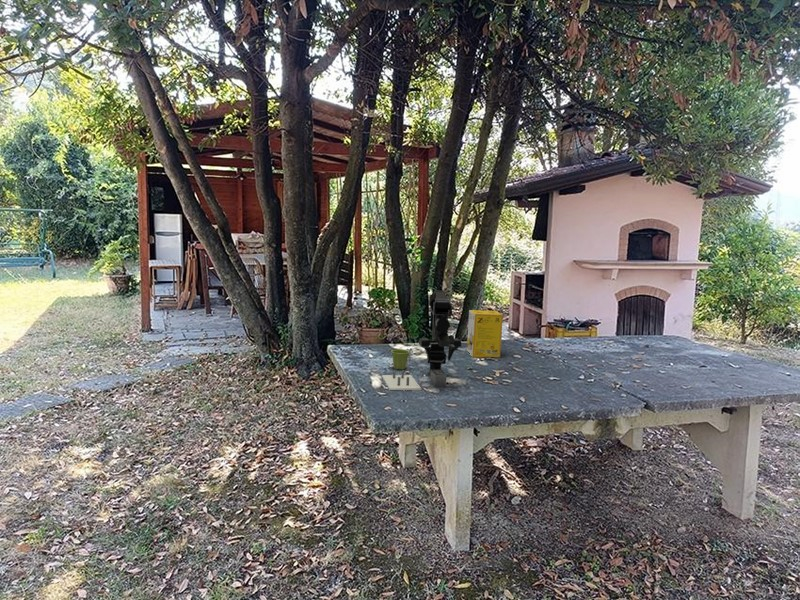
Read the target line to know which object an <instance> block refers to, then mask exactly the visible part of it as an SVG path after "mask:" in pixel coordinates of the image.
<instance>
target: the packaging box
mask: <svg viewBox="0 0 800 600" xmlns="http://www.w3.org/2000/svg"><path fill="white" fill-rule="evenodd" d="M503 318H504V315H503V314H502V313H500V312H499V311H497V310H481V309H480V310H478V309H469V311H468V326H467V338H466V339H467V340H466V341H467V342H466V352H467V351H468V352H469V353H470V354H469V353H468V352H467V353H468V354H469V356H472V357H471V358H483V357H500V358H501V348H502V347H501V346H502V336H503V335H502V332H503V322H504V321H503Z"/></svg>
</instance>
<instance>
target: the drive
mask: <svg viewBox="0 0 800 600" xmlns="http://www.w3.org/2000/svg"><path fill="white" fill-rule="evenodd" d="M429 382H430V383H431V385H432V386H433V387H434V388H447V373H445V372H444V371H443V369H442V368H441V369H431V374H430V376H429Z"/></svg>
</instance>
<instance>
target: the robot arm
mask: <svg viewBox="0 0 800 600" xmlns="http://www.w3.org/2000/svg"><path fill="white" fill-rule="evenodd" d="M445 293H446V292H445V290H439V289H438V290H437V289H435V290H433V293H432V294H430V295H429V296H428V297H429V299H428V306H429V311H430V312H431V314H432V340H431V339H429V338H428V337H427V338H423V337H420V338H419V340H418V345H419V346H420V347H421V348H423V349H424V351H425V353H426V356H427V357H426V362H427V364H429V372H426V373H427V375H428V376H429V377H430V374H431V369H441V370H442V365H445V364H447V361H448V362H451V360H452V359H451V358H452V357H453V354H454V352H455V350H457V349H459V348H461V347H462V340H460V339H459V338H455V336H454V335H449V329H450V327H451V324H450V321H449V319H448V318H449V317H452V315H453V305H452V303H451V302H450V300H449V299H447V298H448V297H447V295H446V294H445ZM446 347H447V348H448V353H446V351H445V348H446Z"/></svg>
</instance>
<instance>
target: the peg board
mask: <svg viewBox="0 0 800 600" xmlns="http://www.w3.org/2000/svg"><path fill="white" fill-rule="evenodd" d="M396 371H397V370H396V369H394V370H392V374H382V375H381V379H382V378H383V379H382V380H383V382H384V381H385V382H384V384H385V383H386V384H385V386H386V387H387V386H388V387H387V389H388V388H389V389H388V390H389V391H390V390H403V392H404V391H405V390H406V391H407V390H412V391H422V387H421V386H420V385H419V383H418V382H417V381H416V380H415V378H414V377H413V376H412V374H405V369H401V374H396Z"/></svg>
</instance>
